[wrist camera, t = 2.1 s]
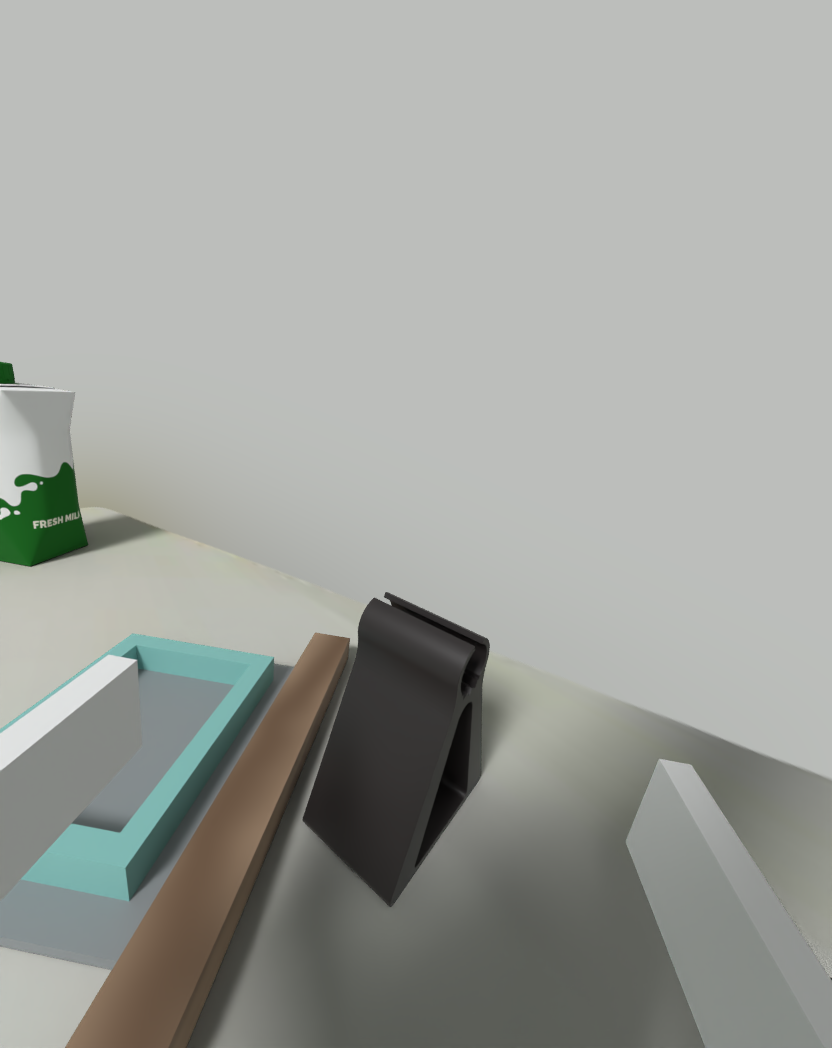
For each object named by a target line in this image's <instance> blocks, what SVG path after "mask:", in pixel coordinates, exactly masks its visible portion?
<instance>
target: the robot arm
mask: <svg viewBox="0 0 832 1048" xmlns="http://www.w3.org/2000/svg"><path fill="white" fill-rule="evenodd" d="M141 746H142V732H141V715H140V698H139V681H138V663H137V660H135V659H129V658H124V657H119V656H114V655H107V656H106V657H105V658H103V659H102V660H100V661H99V662H98V663H96V664H95V665H94V666H92V667H91V668H89V669H88V670H87V671H85V672H84V673H83V674H81V675H80V676H79V677H77V678H76V679H74V680H73V681H72V682H70V683H69V684H68V685H66V686H65V687H63V688H62V689H61V690H59V691H58V692H57V693H55V694H54V695H52V696H51V697H50V698H48V699H47V700H46V701H44V702H43V703H41V704H40V705H39V706H37V707H36V708H35V709H33V710H32V711H30V712H29V713H28V714H26V715H25V716H24V717H22V718H21V719H19V720H18V721H17V722H15V723H14V724H13V725H11V726H10V727H8V728H7V729H6V730H4V731H3V732H2V733H0V901H1V900H2V899H3V898H4V897H5V896H6V895H7V893H8V892H9V891H10V890H11V889H12V888H13V887H14V886H15V885H16V884H17V883H18V881H19V880H20V879H21V878H22V877H23V876H24V875H25V874H26V873H27V872H28V870H29V869H30V868H31V867H32V866H33V865H34V864H35V863H36V862H37V861H38V859H39V858H40V857H41V856H42V855H43V854H44V853H45V852H46V851H47V850H48V848H49V847H50V846H51V845H52V844H53V843H54V842H55V841H56V840H57V839H58V838H59V836H60V835H61V834H62V833H63V832H64V831H65V830H66V829H67V828H68V827H69V825H70V824H71V823H72V822H73V821H74V820H75V819H76V818H77V817H78V816H79V814H80V813H81V812H82V811H83V810H84V809H85V808H86V807H87V806H88V805H89V804H90V802H91V801H92V800H93V799H94V798H95V797H96V796H97V795H98V794H99V793H100V791H101V790H102V789H103V788H104V787H105V786H106V785H107V784H108V783H109V782H110V780H111V779H112V778H113V777H114V776H115V775H116V774H117V773H118V772H119V771H120V769H121V768H122V767H123V766H124V765H125V764H126V763H127V762H128V761H129V760H130V759H131V757H132V756H133V755H134V754H135V753H136V752H137V751H138V750H139V749H140V748H141ZM625 842H626V844H627V847H628V850H629V852H630V855H631V857H632V860H633V862H634V865H635V868H636V870H637V873H638V875H639V878H640V880H641V883H642V886H643V888H644V891H645V893H646V896H647V899H648V901H649V904H650V906H651V909H652V911H653V914H654V917H655V919H656V922H657V924H658V927H659V930H660V932H661V935H662V937H663V940H664V942H665V945H666V948H667V950H668V953H669V955H670V958H671V961H672V963H673V966H674V968H675V971H676V973H677V976H678V979H679V981H680V984H681V986H682V989H683V992H684V994H685V997H686V999H687V1002H688V1004H689V1007H690V1010H691V1012H692V1015H693V1017H694V1020H695V1023H696V1025H697V1028H698V1030H699V1033H700V1035H701V1038H702V1041H703V1043H704V1046H705V1048H832V978H830V977H829V975H828V974H827V972H826V971H825V969H824V968H823V966H822V965H821V963H820V962H819V960H818V958H817V957H816V955H815V954H814V952H813V951H812V949H811V948H810V946H809V945H808V943H807V942H806V940H805V938H804V937H803V935H802V934H801V932H800V931H799V929H798V928H797V926H796V925H795V923H794V922H793V920H792V919H791V917H790V915H789V914H788V912H787V911H786V909H785V908H784V906H783V905H782V903H781V902H780V900H779V899H778V897H777V895H776V894H775V892H774V891H773V889H772V888H771V886H770V885H769V883H768V882H767V880H766V879H765V877H764V876H763V874H762V872H761V871H760V869H759V868H758V866H757V865H756V863H755V862H754V860H753V859H752V857H751V856H750V854H749V852H748V851H747V849H746V848H745V846H744V845H743V843H742V842H741V840H740V839H739V837H738V836H737V834H736V833H735V831H734V829H733V828H732V826H731V825H730V823H729V822H728V820H727V819H726V817H725V816H724V814H723V813H722V811H721V809H720V808H719V806H718V805H717V803H716V802H715V800H714V799H713V797H712V796H711V794H710V793H709V791H708V790H707V788H706V786H705V785H704V783H703V782H702V780H701V779H700V777H699V776H698V774H697V773H696V771H695V770H694V768H693V766H692V765H690V764H685V763H680V762H674V761H669V760H664V759H659V760H658V762H657V765H656V767H655V770H654V772H653V775H652V777H651V780H650V782H649V785H648V787H647V790H646V792H645V794H644V797H643V799H642V802H641V804H640V807H639V809H638V812H637V814H636V817H635V819H634V822H633V824H632V827H631V829H630V831H629V834H628V836H627V839H626V841H625Z"/></svg>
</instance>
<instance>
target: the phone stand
mask: <svg viewBox="0 0 832 1048" xmlns="http://www.w3.org/2000/svg"><path fill="white" fill-rule="evenodd" d="M384 597H385V598H387V599H389V600H390V602H391V605H392V606H391V605H389V604H386V603H384V602H382V601H380V600H378V599H376V598H373V599H372V600H371V601H370V603H369V604H368V605H367V607H366V608H365V610H364V612H363V614H362V616H361V619H360V622H359V627H358V649H357V654H356V658H355V662H354V665H353V668H352V671H351V674H350V677H349V680H348V683H347V686H346V689H345V692H344V695H343V698H342V701H341V704H340V707H339V710H338V713H337V716H336V719H335V722H334V726H333V729H332V732H331V735H330V738H329V741H328V744H327V747H326V750H325V753H324V756H323V759H322V762H321V765H320V768H319V771H318V774H317V777H316V780H315V783H314V786H313V789H312V792H311V795H310V798H309V801H308V804H307V807H306V810H305V813H304V816H303V822H304V823H305V824H306V825H307V826H308V827H309V828H310V829H311V830H312V831H313V832H314V833H316V834H317V835H318V836H319V837H320V838H321V839H322V840H323V841H324V842H325V843H326V844H327V845H328V846H329V847H330V848H331V849H332V850H333V851H334V852H335V853H336V854H337V855H338V856H339V857H340V858H341V859H342V860H343V861H344V862H345V863H346V864H347V865H348V866H349V867H350V868H351V869H352V870H353V871H354V872H355V873H356V874H357V875H358V876H359V877H360V878H361V879H362V880H364V881H365V882H366V883H367V884H368V885H369V886H370V887H371V888H372V889H373V890H374V891H375V892H376V893H377V894H378V895H379V896H380V897H381V898H382V899H383V900H384V901H385V902H386V903H387V904H388V905H389V906H390V907H391V906H392V905H393V904H394V903H395V901H396V900H397V898H398V897H399V895H400V894H401V893H402V891H403V890H404V888H405V887H406V885H407V884H408V882H409V881H410V879H411V878H412V877H413V875H414V874H415V872H416V871H417V869H418V868H419V866H420V865H421V864H422V862H423V861H424V859H425V858H426V856H427V855H428V853H429V852H430V851H431V849H432V848H433V846H434V845H435V843H436V842H437V840H438V839H439V837H440V835H441V833H442V831H443V832H444V830H445V829H446V827H447V826H448V824H449V823H450V822H451V820H452V819H453V817H454V816H455V814H456V813H457V811H458V810H459V809H460V807H461V806H462V804H463V803H464V801H465V800H466V798H467V797H468V796H469V794H470V793H471V791H472V790H473V788H474V787H475V785H476V784H477V782H478V781H479V778H480V775H481V728H482V683H483V676H484V671H485V667H486V663H487V659H488V655H489V648H490V645H489V640H488V639H487V638H485V637H483V636H481V635H478V634H476V633H474V632H472V631H470V630H468V629H465V628H463V627H461V626H459V625H457V624H454V623H452V622H451V621H448V620H446V619H444V618H442V617H440V616H438V615H435V614H433V613H431V612H429V611H427V610H425V609H423V608H420V607H418V606H416V605H414V604H412V603H410V602H407V601H405V600H403V599H401V598H399V597H397V596H395V595H392V594H390V593H388V592H386V593H385V596H384Z"/></svg>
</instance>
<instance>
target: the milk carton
mask: <svg viewBox="0 0 832 1048" xmlns="http://www.w3.org/2000/svg"><path fill="white" fill-rule="evenodd" d="M14 379H15V378H14V372H13V367H12V364H10V363H3V362H0V561H4V562H9V563H14V564H20V565H25V566H32V565H35V564H38V563H40V562H43V561H46V560H48V559H51V558H54V557H57V556H59V555H62V554H65V553H67V552H70V551H73V550H75V549H78V548H81V547H84V546H86V545H88V542H87V538H86V534H85V529H84V525H83V521H82V517H81V513H80V509H79V504H78V496H77V488H76V479H75V471H74V463H73V455H72V446H71V437H70V424H71V417H72V410H73V402H74V397H75V392H72V391H65V390H58V389H55V388H54V387H48V386H37V385H29V384H22V383H15V380H14Z"/></svg>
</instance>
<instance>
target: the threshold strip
mask: <svg viewBox="0 0 832 1048" xmlns="http://www.w3.org/2000/svg"><path fill="white" fill-rule="evenodd" d="M349 642H350V638H345V637H339V636H332V635H326V634H320V633H315V634H314V635H313V637H312V639H311V640H310V642H309V644H308V645H307V647H306V649H305V650H304V652H303V654H302V655H301V657H300V659H299V660H298V662H297V664H296V665H295V667H294V669H293V670H292V672H291V674H290V675H289V677H288V679H287V680H286V682H285V684H284V685H283V687H282V689H281V690H280V692H279V694H278V695H277V697H276V698H275V700H274V702H273V703H272V705H271V707H270V708H269V710H268V712H267V713H266V715H265V717H264V718H263V720H262V722H261V723H260V725H259V727H258V728H257V730H256V732H255V733H254V735H253V737H252V738H251V740H250V742H249V743H248V745H247V747H246V748H245V750H244V752H243V753H242V755H241V757H240V758H239V760H238V762H237V763H236V765H235V767H234V768H233V770H232V771H231V773H230V775H229V776H228V778H227V780H226V781H225V783H224V785H223V786H222V788H221V790H220V791H219V793H218V795H217V796H216V798H215V800H214V801H213V803H212V805H211V806H210V808H209V810H208V811H207V813H206V815H205V816H204V818H203V820H202V821H201V823H200V825H199V826H198V828H197V830H196V831H195V833H194V835H193V836H192V838H191V840H190V841H189V843H188V844H187V846H186V848H185V849H184V851H183V853H182V854H181V856H180V858H179V859H178V861H177V863H176V864H175V866H174V868H173V869H172V871H171V873H170V874H169V876H168V878H167V879H166V881H165V883H164V884H163V886H162V888H161V889H160V891H159V893H158V894H157V896H156V898H155V899H154V901H153V903H152V904H151V906H150V908H149V909H148V911H147V913H146V914H145V916H144V917H143V919H142V921H141V922H140V924H139V926H138V927H137V929H136V931H135V932H134V934H133V936H132V937H131V939H130V941H129V942H128V944H127V946H126V947H125V949H124V951H123V952H122V954H121V956H120V957H119V959H118V961H117V962H116V964H115V966H114V967H113V969H112V971H111V972H110V974H109V976H108V977H107V979H106V981H105V982H104V984H103V986H102V987H101V989H100V990H99V992H98V994H97V995H96V997H95V999H94V1000H93V1002H92V1004H91V1005H90V1007H89V1009H88V1010H87V1012H86V1014H85V1015H84V1017H83V1019H82V1020H81V1022H80V1024H79V1025H78V1027H77V1029H76V1030H75V1032H74V1034H73V1035H72V1037H71V1039H70V1040H69V1042H68V1044H67V1045H66V1047H65V1048H186V1047H187V1044H188V1042H189V1040H190V1037H191V1035H192V1032H193V1030H194V1028H195V1025H196V1023H197V1020H198V1018H199V1016H200V1013H201V1011H202V1008H203V1006H204V1004H205V1001H206V999H207V996H208V994H209V992H210V989H211V987H212V984H213V982H214V980H215V977H216V975H217V972H218V970H219V968H220V965H221V963H222V960H223V958H224V956H225V953H226V951H227V948H228V946H229V943H230V941H231V939H232V936H233V934H234V931H235V929H236V927H237V924H238V922H239V919H240V917H241V915H242V912H243V910H244V907H245V905H246V903H247V900H248V898H249V895H250V893H251V891H252V888H253V886H254V883H255V881H256V879H257V876H258V874H259V871H260V869H261V867H262V864H263V862H264V859H265V857H266V855H267V852H268V850H269V847H270V845H271V842H272V840H273V838H274V835H275V833H276V830H277V828H278V826H279V823H280V821H281V818H282V816H283V814H284V811H285V809H286V806H287V804H288V802H289V799H290V797H291V794H292V792H293V790H294V787H295V785H296V782H297V780H298V778H299V775H300V773H301V770H302V768H303V766H304V763H305V761H306V758H307V756H308V754H309V751H310V749H311V746H312V744H313V741H314V739H315V737H316V734H317V732H318V729H319V727H320V725H321V722H322V720H323V717H324V715H325V713H326V710H327V708H328V705H329V703H330V701H331V698H332V696H333V693H334V691H335V689H336V686H337V684H338V681H339V679H340V677H341V674H342V672H343V669H344V667H345V665H346V662H347V660H348V653H349Z"/></svg>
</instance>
